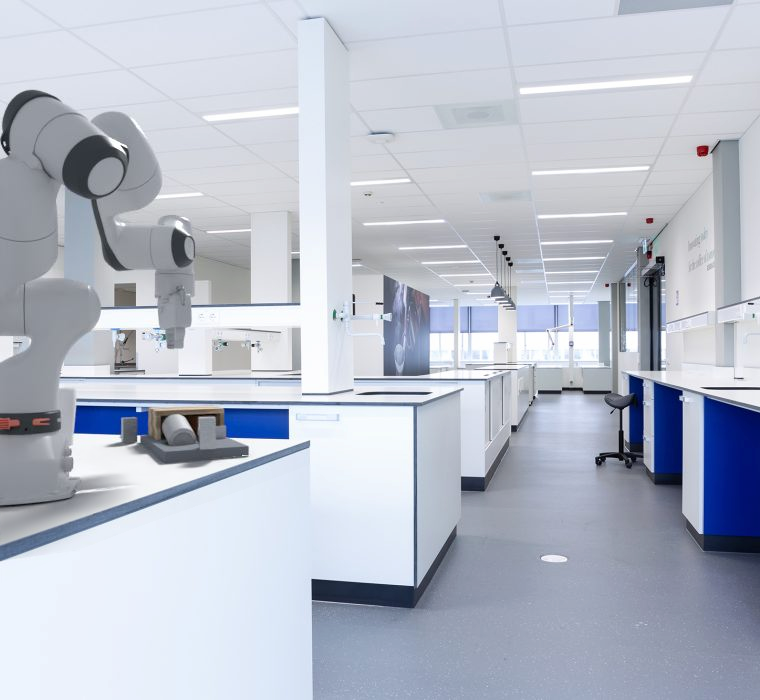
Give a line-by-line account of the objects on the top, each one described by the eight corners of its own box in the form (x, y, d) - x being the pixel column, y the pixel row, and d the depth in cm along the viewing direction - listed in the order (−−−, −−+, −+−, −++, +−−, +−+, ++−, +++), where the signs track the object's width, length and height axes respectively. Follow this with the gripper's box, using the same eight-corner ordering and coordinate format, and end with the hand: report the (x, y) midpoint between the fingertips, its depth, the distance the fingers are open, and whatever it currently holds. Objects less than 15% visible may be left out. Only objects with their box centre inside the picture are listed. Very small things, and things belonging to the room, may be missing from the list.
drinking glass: (81, 445, 182) (81, 387, 182) (67, 448, 175) (67, 389, 175) (56, 444, 183) (56, 387, 183) (41, 448, 176) (41, 389, 176)
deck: (248, 456, 162) (248, 446, 162) (164, 462, 154) (164, 451, 154) (212, 440, 192) (212, 431, 192) (140, 444, 183) (140, 435, 183)
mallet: (137, 444, 183) (137, 418, 183) (123, 445, 182) (123, 418, 182) (129, 439, 195) (129, 414, 195) (116, 439, 194) (116, 414, 194)
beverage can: (187, 424, 165) (178, 407, 176) (163, 439, 164) (156, 422, 174) (201, 444, 168) (192, 426, 178) (178, 459, 166) (170, 441, 177)
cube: (197, 435, 183) (197, 416, 183) (188, 433, 186) (188, 415, 186) (214, 433, 186) (214, 415, 186) (204, 432, 190) (204, 413, 190)
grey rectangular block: (235, 448, 159) (235, 417, 159) (199, 449, 157) (199, 418, 157) (225, 437, 179) (225, 410, 179) (193, 438, 176) (193, 410, 176)
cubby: (224, 436, 182) (224, 408, 182) (156, 439, 174) (156, 411, 174) (212, 431, 192) (212, 405, 192) (148, 434, 184) (148, 407, 184)
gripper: (198, 284, 152) (198, 348, 152) (180, 292, 171) (180, 349, 170) (169, 283, 149) (169, 348, 149) (153, 291, 168) (153, 349, 168)
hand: (174, 348), depth 160 cm, fingers open, 8 cm apart
